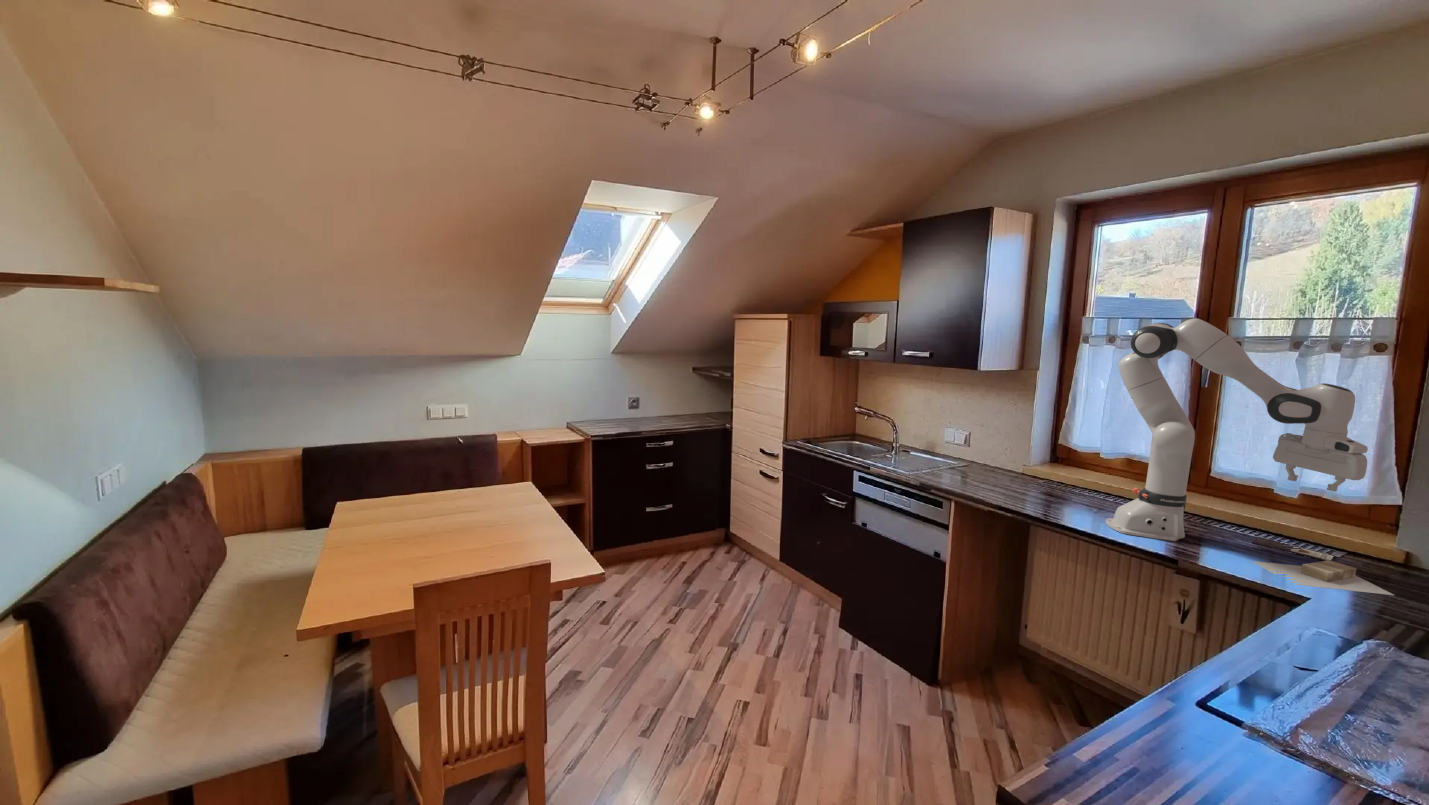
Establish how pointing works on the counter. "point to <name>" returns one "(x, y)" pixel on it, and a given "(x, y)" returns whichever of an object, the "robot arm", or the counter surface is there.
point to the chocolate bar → (1303, 552)
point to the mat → (1306, 580)
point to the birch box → (1328, 570)
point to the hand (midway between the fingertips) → (1311, 485)
